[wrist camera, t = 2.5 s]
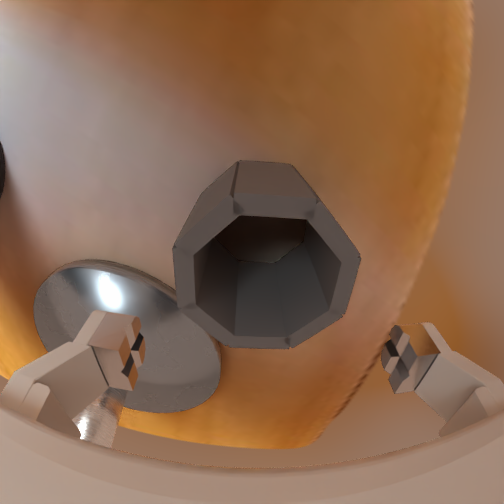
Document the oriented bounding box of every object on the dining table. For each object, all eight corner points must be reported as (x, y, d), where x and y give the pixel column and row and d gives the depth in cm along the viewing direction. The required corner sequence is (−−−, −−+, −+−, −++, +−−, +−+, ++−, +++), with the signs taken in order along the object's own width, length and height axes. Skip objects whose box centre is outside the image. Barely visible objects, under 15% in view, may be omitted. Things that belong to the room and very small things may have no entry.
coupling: (201, 158, 14) (169, 190, 8) (327, 168, 14) (373, 204, 8) (201, 269, 16) (182, 343, 11) (309, 275, 17) (333, 348, 11)
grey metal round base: (17, 252, 16) (-64, 337, 7) (221, 267, 16) (199, 432, 7) (75, 385, 23) (45, 462, 14) (222, 410, 24) (217, 507, 15)
